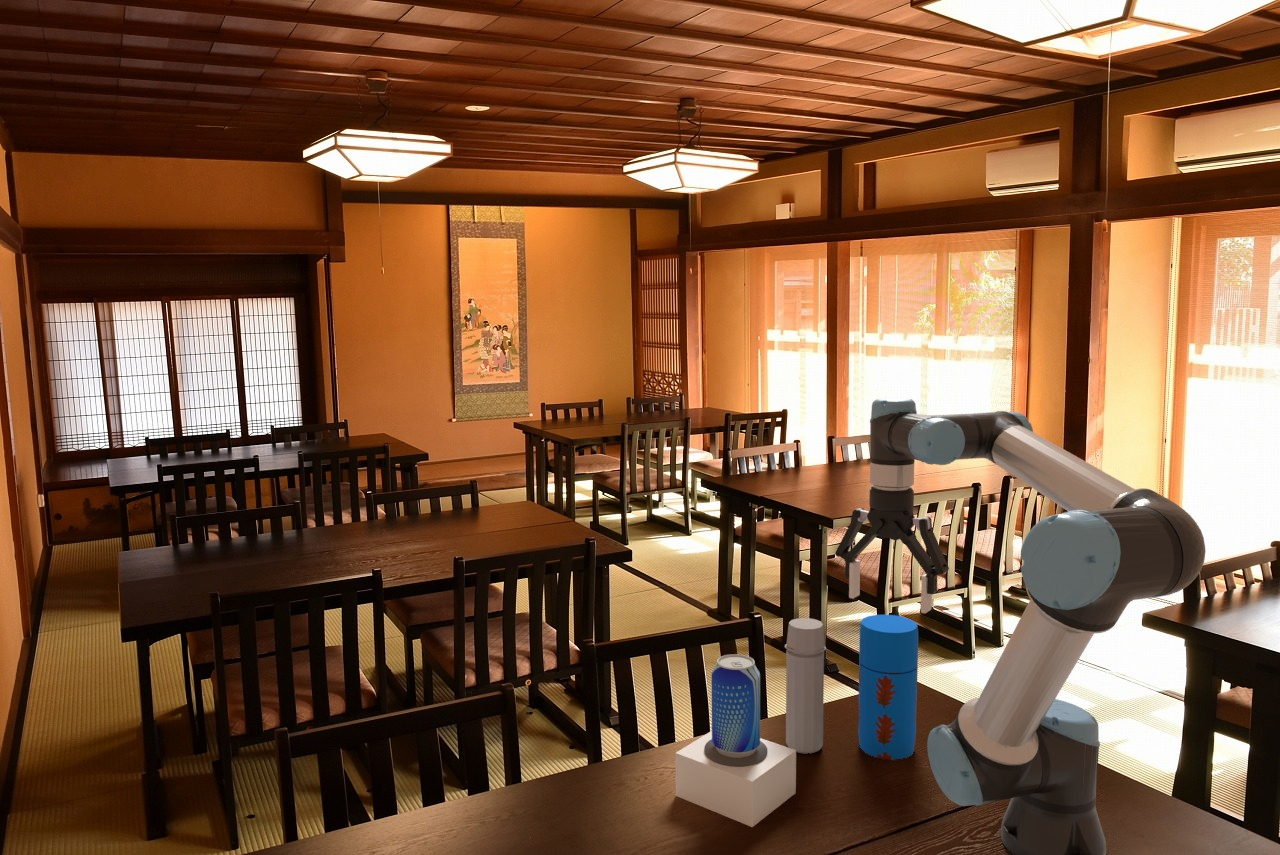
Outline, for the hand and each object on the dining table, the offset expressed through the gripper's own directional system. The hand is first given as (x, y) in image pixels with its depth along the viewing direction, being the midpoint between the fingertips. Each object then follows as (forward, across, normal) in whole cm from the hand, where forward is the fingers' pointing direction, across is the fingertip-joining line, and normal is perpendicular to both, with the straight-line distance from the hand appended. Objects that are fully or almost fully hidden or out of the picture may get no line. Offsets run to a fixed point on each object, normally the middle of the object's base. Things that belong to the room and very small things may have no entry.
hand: (889, 603), depth 164 cm
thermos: (+33, +5, -11) cm, 35 cm away
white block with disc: (+33, +18, +22) cm, 43 cm away
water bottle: (+33, +18, -2) cm, 38 cm away
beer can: (+24, +18, +22) cm, 37 cm away
